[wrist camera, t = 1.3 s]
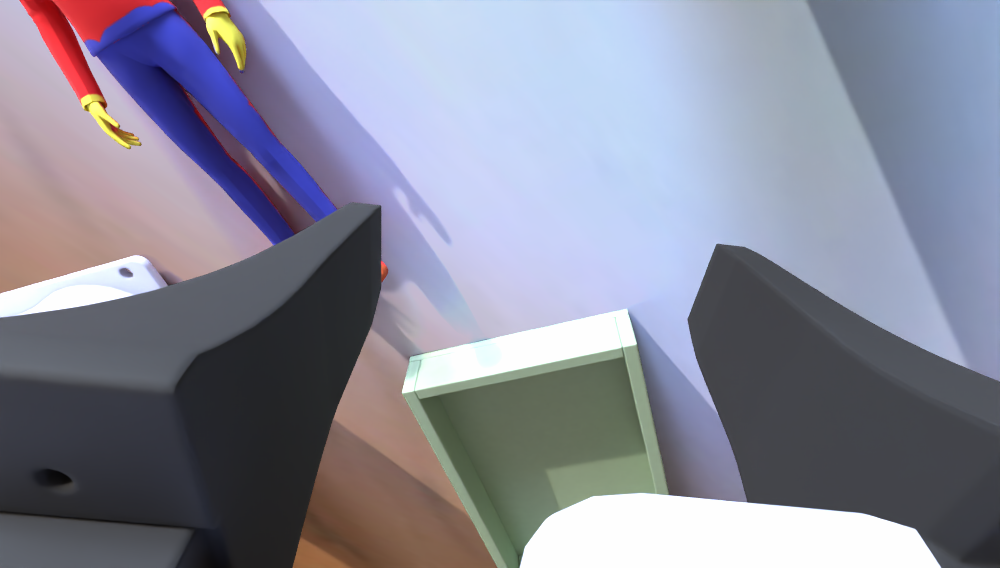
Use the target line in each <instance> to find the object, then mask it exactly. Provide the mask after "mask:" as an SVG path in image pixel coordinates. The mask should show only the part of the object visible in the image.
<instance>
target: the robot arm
mask: <svg viewBox="0 0 1000 568" xmlns="http://www.w3.org/2000/svg"><path fill="white" fill-rule="evenodd" d="M126 268H127V269H129V270H130V271H131V272H132V273H130V272H129V271H127V270H126ZM380 290H381V206H380V205H372V204H363V203H354V202H352V203H349V204H347V205H345V206H343V207H342V208H340V209H338V210H336V211H335V212H333V213H331V214H330V215H328V216H326V217H325V218H323V219H321V220H320V221H318V222H316V223H314V224H313V225H311V226H309V227H308V228H306V229H304V230H302V231H301V232H299V233H297V234H295V235H294V236H292V237H290V238H288V239H286V240H284V241H282V242H280V243H278V244H276V245H274V246H272V247H270V248H268V249H266V250H264V251H262V252H260V253H258V254H256V255H254V256H252V257H249V258H247V259H245V260H242V261H240V262H238V263H235V264H233V265H230V266H227V267H225V268H222V269H220V270H217V271H215V272H212V273H209V274H206V275H203V276H200V277H196V278H193V279H190V280H186V281H183V282H180V283H176V284H173V285H170V286H168V285H167V283H166V282H165V281H164V279H163V278H162V277H161V275H160V274H159V273H158V271H157V270H156V269H155V268H154V266H153V265H152V264H151V262H150V261H148V260H147V259H146V258H144V257H141V256H132V257H129V258H125V259H121V260H118V261H114V262H111V263H107V264H104V265H100V266H97V267H93V268H90V269H86V270H83V271H79V272H76V273H72V274H69V275H65V276H62V277H58V278H55V279H51V280H47V281H44V282H40V283H37V284H33V285H30V286H26V287H23V288H19V289H16V290H12V291H9V292H5V293H2V294H0V568H293V563H294V560H295V556H296V552H297V548H298V544H299V540H300V536H301V532H302V528H303V524H304V520H305V516H306V512H307V509H308V505H309V501H310V498H311V494H312V490H313V487H314V483H315V479H316V476H317V472H318V468H319V465H320V461H321V458H322V454H323V451H324V447H325V444H326V440H327V437H328V434H329V430H330V427H331V423H332V420H333V418H334V415H335V412H336V409H337V407H338V404H339V401H340V399H341V397H342V394H343V392H344V390H345V387H346V385H347V382H348V380H349V378H350V375H351V373H352V371H353V368H354V366H355V363H356V361H357V359H358V356H359V354H360V352H361V349H362V347H363V344H364V342H365V339H366V337H367V335H368V332H369V330H370V327H371V325H372V322H373V318H374V314H375V310H376V306H377V302H378V298H379V294H380ZM688 324H689V329H690V334H691V339H692V343H693V347H694V351H695V355H696V359H697V361H698V364H699V367H700V369H701V372H702V375H703V377H704V380H705V382H706V385H707V387H708V390H709V392H710V395H711V397H712V400H713V402H714V405H715V407H716V409H717V412H718V414H719V417H720V419H721V422H722V424H723V427H724V429H725V432H726V434H727V437H728V439H729V442H730V444H731V447H732V450H733V453H734V456H735V459H736V462H737V465H738V469H739V472H740V476H741V480H742V483H743V487H744V491H745V494H746V498H747V502H748V503H745V502H734V501H724V500H713V499H702V498H691V497H680V496H669V495H658V494H647V493H635V494H621V495H607V496H593V497H591V498H588V499H586V500H584V501H581V502H579V503H577V504H575V505H572V506H570V507H568V508H565V509H563V510H561V511H559V512H556V513H554V514H552V515H551V516H550V517H548V518H547V519H546V520H545V521H544V522H543V524H542V525H541V526H540V528H539V529H538V530H537V532H536V533H535V534H534V536H533V537H532V538H531V540H530V541H529V542H528V544H527V545H526V546H525V549H524V553H523V557H522V561H521V565H520V568H1000V382H999V381H997V380H994V379H992V378H989V377H987V376H984V375H982V374H979V373H977V372H975V371H972V370H970V369H967V368H965V367H963V366H960V365H958V364H955V363H953V362H950V361H948V360H946V359H944V358H942V357H939V356H937V355H935V354H933V353H930V352H928V351H926V350H924V349H922V348H920V347H918V346H916V345H914V344H912V343H910V342H908V341H906V340H904V339H902V338H900V337H898V336H896V335H894V334H892V333H890V332H888V331H886V330H884V329H882V328H880V327H878V326H877V325H875V324H873V323H871V322H869V321H868V320H866V319H864V318H862V317H861V316H859V315H857V314H856V313H854V312H852V311H850V310H849V309H847V308H845V307H843V306H842V305H840V304H839V303H837V302H835V301H834V300H832V299H830V298H829V297H827V296H825V295H824V294H822V293H821V292H819V291H818V290H816V289H814V288H813V287H811V286H810V285H808V284H806V283H805V282H803V281H802V280H800V279H799V278H797V277H796V276H794V275H792V274H791V273H789V272H788V271H786V270H785V269H783V268H781V267H780V266H778V265H777V264H775V263H773V262H772V261H770V260H768V259H767V258H765V257H763V256H762V255H760V254H758V253H756V252H754V251H752V250H750V249H748V248H745V247H740V246H731V245H722V244H716V247H715V249H714V252H713V254H712V257H711V260H710V262H709V265H708V267H707V270H706V273H705V275H704V278H703V281H702V283H701V286H700V288H699V291H698V294H697V296H696V299H695V301H694V304H693V307H692V309H691V312H690V315H689V317H688Z"/></svg>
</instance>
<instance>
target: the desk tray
mask: <svg viewBox="0 0 1000 568" xmlns="http://www.w3.org/2000/svg"><path fill="white" fill-rule="evenodd" d="M402 394H403V396H404V398H405V399H406V401H407V403H408V405H409V407H410V409H411V410H412V412H413V414H414V416H415V418H416V420H417V421H418V423H419V425H420V427H421V429H422V430H423V432H424V434H425V436H426V438H427V440H428V441H429V443H430V445H431V447H432V449H433V451H434V452H435V454H436V456H437V458H438V460H439V462H440V463H441V465H442V467H443V469H444V471H445V472H446V474H447V476H448V478H449V480H450V482H451V483H452V485H453V487H454V489H455V491H456V493H457V494H458V496H459V498H460V500H461V502H462V504H463V505H464V507H465V509H466V511H467V513H468V514H469V516H470V518H471V520H472V522H473V524H474V525H475V527H476V529H477V531H478V533H479V535H480V536H481V538H482V540H483V542H484V544H485V546H486V547H487V549H488V551H489V553H490V555H491V556H492V558H493V560H494V562H495V564H496V566H497V567H498V568H520V565H521V561H522V557H523V553H524V549H525V546H526V545H527V544H528V542H529V541H530V540H531V538H532V537H533V536H534V534H535V533H536V532H537V530H538V529H539V528H540V526H541V525H542V524H543V522H544V521H545V520H546V519H547V518H548V517H550V516H551V515H552V514H554V513H556V512H559V511H561V510H563V509H565V508H568V507H570V506H572V505H575V504H577V503H579V502H581V501H584V500H586V499H588V498H591V497H593V496H607V495H621V494H635V493H647V494H658V495H669V491H668V486H667V481H666V477H665V472H664V467H663V463H662V458H661V453H660V448H659V444H658V439H657V434H656V430H655V425H654V420H653V416H652V411H651V406H650V402H649V397H648V392H647V387H646V383H645V378H644V373H643V369H642V364H641V359H640V355H639V350H638V345H637V341H636V338H635V334H634V331H633V327H632V324H631V321H630V317H629V313H628V310H627V309H624V310H619V311H615V312H610V313H606V314H601V315H597V316H592V317H588V318H583V319H578V320H574V321H569V322H565V323H560V324H556V325H551V326H547V327H542V328H538V329H533V330H529V331H524V332H520V333H515V334H511V335H506V336H502V337H497V338H493V339H488V340H484V341H479V342H475V343H470V344H466V345H461V346H457V347H452V348H448V349H443V350H439V351H434V352H430V353H425V354H421V355H416V356H412V357H410V360H409V366H408V370H407V374H406V378H405V382H404V387H403V391H402ZM669 496H670V495H669Z"/></svg>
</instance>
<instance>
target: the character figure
mask: <svg viewBox="0 0 1000 568" xmlns="http://www.w3.org/2000/svg"><path fill="white" fill-rule="evenodd" d="M19 1H20V2H21V3H22V5H23V6H24V8H25V9H26V10H27V12H28V14H29V16H31V17H32V19H33V21H34V23H35V24H36V25H37V27H38V29H39V31H40V34H41V36H42V38H43V40H44V41H45V43H46V45H47V47H48V48H49V50H50V52H51V54H52V55H53V57H54V59H55V60H56V62H57V63H58V65H59V67H60V68H61V70H62V71H63V73H64V75H65V76H66V78H67V80H68V81H69V83H70V85H71V86H72V88H73V90H74V91H75V93H76V95H77V97H78V99H79V100H80V102H81V104H82V106H83V108H84V110H85V111H89V112H90V113H91V114H92V115H93V117H94V118H95V119H96V121H97V122H98V124H99V125H100V126H101V128H102V129H103V130H104V131H105V132H106V133H107V134H108V135H109V136H110V137H111V138H113V139H114V140H115V141H116V142H118V143H119V144H120V145H122V146H124V147H125V148H127V149H131V146H130V145H136V146H141V145H142V144H141V143H140V142H138V140H139V138H138V137H134V134H133V133H128V132H125V131H122V130H120V129H119V128H120V125H119V124H118V123H117V122H116V121H115V120H114V119H113V118H111V117H110V116H109V115H108V114H107V112H106V110H105V108H106V107H107V103H106V101H105V99H104V97H103V94H102V92H101V90H100V88H99V86H98V84H97V82H96V80H95V78H94V77H93V75H92V73H91V71H90V68H89V66H88V64H87V61H86V59H85V57H84V55H83V52H82V50H81V48H80V45H79V43H78V41H77V38H76V36H75V34H74V32H73V30H72V28H71V26H70V24H69V22H68V20H69V21H70V23H71V24H72V25H73V26H74V28H75V29H76V31H77V32H78V34H79V36H80V37H81V39H82V40H83V42H84V43H85V45H86V47H87V48H88V50H89V51H90V53H91V55H92V56H93V57H95V56H97V57H98V58H99V59H100V60H101V62H102V63H103V64H104V65H105V67H106V68H107V69H108V70H109V71H110V73H111V74H112V75H113V76H114V77H115V79H116V80H117V81H118V82H119V83H120V84H121V86H122V87H123V88H124V89H125V90H126V91H127V92H128V94H129V95H130V96H131V97H132V98H133V99H134V100H135V101H136V103H137V104H138V105H139V106H140V107H141V108H142V109H143V110H144V111H145V112H146V113H147V114H148V115H149V117H150V118H151V119H152V120H153V121H154V122H155V123H156V124H157V125H158V126H159V127H160V128H161V129H162V130H163V131H164V133H165V134H166V135H167V136H168V137H169V138H170V139H171V140H172V141H173V142H174V143H175V144H176V145H177V146H178V147H179V148H180V149H181V150H182V151H183V152H185V153H186V154H187V155H188V156H189V157H190V158H191V159H192V160H193V161H194V162H195V163H197V164H198V165H199V166H200V167H201V168H202V169H203V170H204V171H205V172H206V173H207V174H208V175H209V176H210V177H211V178H212V179H213V180H214V181H216V182H217V183H218V184H219V185H220V186H221V187H222V188H223V190H224V191H225V192H226V193H227V194H228V195H229V196H230V197H231V198H232V200H233V201H234V202H235V203H236V204H237V205H238V206H239V207H240V208H241V210H242V211H243V212H244V213H245V214H246V215H247V216H248V217H249V218H250V219H251V220H252V221H253V222H254V223H255V224H256V225H257V226H258V228H259V229H260V230H261V231H262V232H263V233H264V234H265V235H266V236H267V238H268V239H269V240H270V241H271V243H272V244H273V245H276V244H278V243H280V242H282V241H284V240H286V239H288V238H290V237H292V236H294V235H295V233H294V232H293V231H292V229H291V228H290V226H289V225H288V224H287V222H286V221H285V220H284V218H283V217H282V215H281V214H280V213H279V211H278V210H277V209H276V207H275V206H274V205H273V203H272V202H271V201H270V199H269V198H268V197H267V195H266V194H265V193H264V191H263V190H262V189H261V188H260V187H259V185H258V184H257V183H256V182H255V180H254V179H253V178H252V177H251V176H250V175H249V174H248V173H247V171H246V170H245V169H244V168H243V167H242V166H241V165H240V164H238V163H237V162H236V161H235V160H234V159H233V158H232V157H231V156H230V155H229V154H228V152H227V151H226V150H225V148H224V147H223V146H222V144H221V143H220V142H219V140H218V139H217V137H216V136H215V134H214V133H213V132H212V130H211V129H210V127H209V126H208V125H207V123H206V122H205V120H204V119H203V117H202V116H201V115H200V113H199V112H198V110H197V109H196V107H195V106H194V104H193V103H192V101H191V99H190V98H189V96H188V95H187V93H186V92H185V90H184V89H183V87H184V88H185V89H186V90H187V91H188V92H189V93H190V94H192V95H193V97H194V98H195V99H196V100H197V101H198V102H199V103H200V104H201V105H202V106H203V107H204V108H205V109H206V110H207V111H208V112H209V113H210V114H211V115H212V116H213V117H214V118H215V119H216V120H217V121H218V122H219V123H220V124H222V125H223V126H224V127H225V128H226V129H227V130H228V131H229V132H230V133H231V134H232V135H233V136H234V137H235V138H236V139H237V140H238V141H239V142H240V143H241V144H242V145H243V146H244V147H245V148H246V149H248V150H249V151H250V152H251V153H252V154H253V156H254V157H255V158H256V159H257V160H258V161H259V162H260V163H261V164H262V165H263V166H264V167H265V168H266V169H267V170H268V172H269V173H270V174H271V175H272V176H273V177H274V178H275V179H276V180H277V181H278V182H279V183H280V184H281V185H282V187H283V188H284V189H285V190H286V191H287V192H288V193H289V194H290V195H291V196H292V197H293V198H294V199H295V200H296V201H297V202H298V203H299V204H300V205H301V206H302V207H303V208H304V209H305V210H306V211H307V212H308V214H309V215H310V216H311V217H312V218H313V219H314V220H315V221H316V222H318V221H320V220H321V219H323V218H325V217H326V216H328V215H330V214H331V213H333V212H335V211H336V210H338V209H337V208H336V207H335V206H334V204H333V203H332V202H331V201H330V200H329V198H328V197H327V196H326V195H325V193H324V192H323V191H322V190H321V188H320V187H319V186H318V185H317V183H316V182H315V181H314V180H313V178H312V177H311V176H310V175H309V174H308V172H307V171H306V170H305V169H304V168H303V167H302V165H301V164H300V163H299V162H298V161H297V160H296V159H295V158H294V156H293V155H292V154H291V153H290V152H289V151H288V150H287V149H286V148H285V147H284V146H283V144H282V143H281V142H280V141H279V140H278V139H277V137H276V136H275V135H274V133H273V132H272V130H271V129H270V128H269V126H268V125H267V124H266V122H265V121H264V120H263V118H262V117H261V116H260V114H259V113H258V112H257V110H256V109H255V108H254V106H253V105H252V103H251V102H250V101H249V99H248V98H247V97H246V95H245V94H244V93H243V91H242V90H241V89H240V87H239V86H238V85H237V83H236V82H235V81H234V79H233V78H232V77H231V75H230V74H229V73H228V72H227V70H226V69H225V68H224V66H223V65H222V64H221V63H220V61H219V60H218V59H217V57H216V56H215V55H214V54H213V52H212V51H211V50H210V49H209V47H208V46H207V45H206V44H205V42H204V41H203V40H202V39H201V37H200V36H199V35H198V34H197V33H196V32H195V30H194V29H193V28H192V27H191V26H190V25H189V23H188V22H187V21H186V20H185V19H184V18H183V17H182V16H181V15H180V14H179V13H178V12H177V8H176V7H175V6H174V5H173V4H172V3H171V2H170V1H169V0H19ZM193 2H194V4H195V5H196V7H197V8H198V10H199V12H200V14H201V16H202V17H203V19H204V21H205V22H206V27H207V31H208V33H209V35H210V37H211V40H212V43H213V47H214V50H215V53H216V54H217V55H220V48H219V43H218V38H221V39H222V40H223V41H224V42H225V43H226V44H227V45H228V46H229V47H230V49H231V51H232V53H233V55H234V57H235V60H236V62H237V65H238V68H239V70H240V73H244V68H245V60H246V44H245V39H244V37H243V35H242V33H241V32H240V31H239V29H238V28H237V27H236V26H235V24H234V23H233V22H232V21H231V19H230V17H231V15H230V13H229V12H228V10H227V9H226V7H225V6H224V4H223V2H222V1H221V0H193ZM65 16H66V17H67V19H68V20H67V19H66V17H65ZM180 84H181V85H182V86H183V87H182V86H181V85H180ZM133 140H134V141H133ZM128 144H129V145H128ZM387 273H388V269H387V267H386V265H385V264H384V263H383V262H382V261H381V283H382V282H383V280H384V279H385V277H386V276H387Z"/></svg>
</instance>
